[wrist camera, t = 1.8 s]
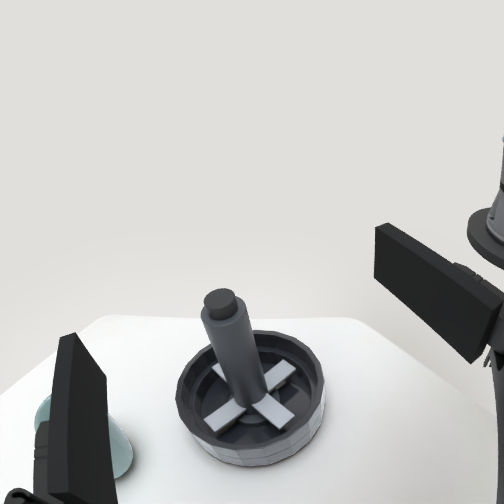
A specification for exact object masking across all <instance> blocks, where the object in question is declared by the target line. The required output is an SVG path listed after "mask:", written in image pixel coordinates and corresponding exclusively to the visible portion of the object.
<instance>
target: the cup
mask: <svg viewBox="0 0 504 504" xmlns="http://www.w3.org/2000/svg"><path fill="white" fill-rule="evenodd" d="M50 404H51V395H50V396H49V397H47V398H46V399H45V400H44V401H43V403H42V404H41V405H40V407H39V409H38V410H37V413H36V416H35V431H36V432H37V429H38V427H39V425H40V422H42V421H47V420H49V415H50ZM108 422H109V436H110V447H111V456H112V465H113V473H114V479H116V478H118V477H120V476H122V475H123V474H124V473H125V472H126V471H127V470H128V469H129V467H130V466H131V463H132V460H133V451H132V447H131V444H130V441H129V440H128V438H127V436H126V434H125V433H124V431H123V430H122V429H121V427H120V426H119V425H118V424H117V423H116V421H115V420H114V419H113V418H112V417H111V416H110V414H109V413H108Z"/></svg>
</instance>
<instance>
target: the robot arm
mask: <svg viewBox="0 0 504 504" xmlns="http://www.w3.org/2000/svg"><path fill="white" fill-rule="evenodd" d="M503 142H504V137H503ZM486 230H487V232H488V234H489V235H490V236H491V237H492V238H493V239H494V240H495V241H496V242H497V243H499V244H500V245H502V246H504V148H503V161H502V171H501V180H500V189H499V192H498V194H497V196H496V198H495V200H494V202H493V205H492V207H491V209H490V211H489V213H488V215H487V220H486ZM374 278H375V279H376V280H377V281H378V282H379V283H381V284H382V285H383V286H384V287H385V288H387V289H388V290H389V291H390V292H391V293H392V294H394V295H395V296H396V297H397V298H398V299H399V300H400V301H402V302H403V303H404V304H405V305H406V306H407V307H409V308H410V309H411V310H412V311H413V312H414V313H415V314H416V315H417V316H419V317H420V318H421V319H422V320H423V321H424V322H425V323H426V324H428V325H429V326H430V327H431V328H432V329H433V330H434V331H435V332H436V333H437V334H439V335H440V336H441V337H442V338H443V339H444V340H445V341H446V342H447V343H448V344H449V345H450V346H452V347H453V348H454V349H455V350H456V351H457V352H458V353H459V354H460V355H461V356H462V357H463V358H464V359H465V360H466V361H468V363H470V364H472V363H473V362H474V361H475V360H476V359H477V358H479V356H481V355H482V354H483V351H484V349H485V347H486V345H487V344H488V345H489V346H491V349H490V351H489V353H488V355H487V357H486V359H485V361H484V367H486V366H487V364H488V362H489V360H491V363H490V365H489V367H492V374H493V382H494V390H495V399H496V410H497V425H498V488H497V502H496V504H504V293H503V292H502V291H501V290H499V289H498V288H497V287H495V286H494V285H492V284H491V283H489V282H488V281H487V280H484V279H483V278H482V277H481V276H480V275H478V274H477V275H476V273H475V272H474V271H472V270H471V269H469V268H468V267H466V266H464V265H461V264H458V263H453V264H452V263H451V262H450V261H448V260H447V259H445V258H444V257H442V256H440V255H439V254H437V253H436V252H434V251H433V250H431V249H430V248H428V247H427V246H425V245H423V244H422V243H420V242H419V241H417V240H416V239H414V238H413V237H411V236H409V235H408V234H406V233H405V232H403V231H401V230H399V229H398V228H396V227H394V226H393V225H391V224H390V223H385V224H383V225H380V226H377V227H375V261H374ZM34 458H35V460H34V475H33V494H32V493H30V492H29V491H27V490H25V489H22V488H15V489H13V490H11V491H10V492H9V493H8V494H7V496H6V498H5V502H4V504H118V500H117V494H116V488H115V481H114V473H113V465H112V456H111V447H110V436H109V422H108V406H107V377H106V375H105V374H104V373H103V371H102V370H101V369H100V367H99V366H98V365H97V363H96V362H95V360H94V359H93V358H92V356H91V355H90V353H89V352H88V350H87V349H86V347H85V346H84V344H83V343H82V341H81V340H80V338H79V337H78V335H77V334H76V333H72V334H69V335H66V336H62V337H60V340H59V345H58V351H57V357H56V364H55V371H54V378H53V386H52V394H51V404H50V415H49V420H47V421H42V422H40V425H39V427H38V429H37V432H36V434H35V450H34Z"/></svg>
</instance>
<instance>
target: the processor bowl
mask: <svg viewBox="0 0 504 504" xmlns="http://www.w3.org/2000/svg"><path fill="white" fill-rule="evenodd" d="M253 335H254V339H255V343H256V347H257V350H258V354H259V358H260V362H261V365H262V369H263V373H264V374H266V373H267V372H268V371H270V370H271V369H272V368H273V367H275V366H276V365H277V364H278V363H280V362H281V361H282V360H285V361H286V362H288V363H289V364H290V365H292V366H293V367H295V368H296V371H295V372H294V373H293V374H291V375H290V376H289V377H288V378H287V379H285V380H284V381H283V382H282V383H281V384H279V385H278V386H277V387H276V390H277V391H278V393H279V396H280V401H281V405H282V406H284V407H285V408H286V409H287V410H289V411H290V412H291V413H292V414H294V415H295V418H294V419H292V420H291V421H290V422H289V423H288V424H287V425H285V426H284V427H283V428H282V429H281V430H279V429H278V428H276V427H275V426H274V425H273V424H272V423H271V422H269V423H268V424H266V425H263V426H260V427H246V426H243V425H241V424H239V423H237V422H236V421H235V420H233V421H232V422H231V423H229V424H228V425H226V426H225V427H224V428H222V429H221V430H220V431H218V432H217V433H215V432H214V431H213V430H212V429H211V428H210V427H209V425H208V424H207V423H206V422H205V421H204V419H205V418H206V417H208V416H209V415H211V414H212V413H213V412H215V411H216V410H218V409H219V408H220V407H222V406H223V405H225V404H226V403H227V402H228V400H229V397H230V395H231V390H230V388H229V386H228V384H227V383H226V382H225V381H224V380H223V379H222V378H221V377H220V376H219V375H218V374H217V373H216V372H215V371H214V370H213V369H212V367H213V366H215V365H216V364H217V363H219V362H218V359H217V357H216V355H215V352H214V350H213V347H212V345H211V344H209V345H208V346H206V347H205V348H203V349H202V350H200V351H199V352H198V353H197V354H196V355H195V356H194V357H193V358H192V359H191V360H190V361H189V363H188V364H187V365H186V366H185V368H184V370H183V372H182V374H181V376H180V378H179V380H178V384H177V390H176V397H175V400H176V404H177V408H178V412H179V416H180V418H181V420H182V421H183V422H184V424H185V425H186V426H187V428H188V429H189V430H190V432H191V433H192V434H193V436H194V437H195V438H196V440H197V441H198V442H199V443H200V445H201V446H202V447H203V448H204V450H205V451H206V452H208V453H210V454H211V455H213V456H215V457H216V458H218V459H220V460H221V461H224V462H227V463H231V464H236V465H240V466H246V467H247V466H259V465H269V464H272V463H275V462H277V461H280V460H282V459H285V458H287V457H289V456H292V455H294V454H295V453H296V452H297V451H298V450H300V449H301V448H302V447H303V446H304V445H306V444H307V443H308V442H309V441H310V440H311V439H312V437H313V435H314V434H315V432H316V431H317V429H318V427H319V426H320V424H321V422H322V416H323V411H324V406H325V387H324V377H323V373H322V368H321V364H320V362H319V361H318V359H317V358H316V356H315V355H314V353H313V352H312V351H311V349H310V348H309V347H308V346H306V345H305V344H303V343H302V342H300V341H299V340H297V339H296V338H294V337H292V336H288V335H285V334H282V333H279V332H276V331H263V330H253Z"/></svg>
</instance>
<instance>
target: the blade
mask: <svg viewBox="0 0 504 504" xmlns="http://www.w3.org/2000/svg"><path fill="white" fill-rule="evenodd" d="M204 305H205V306H204V307H203V309H202V311H201V319H202V322H203V324H204V327H205V329H206V332H207V335H208V337H209V340H210V342H211V345H212V347H213V350H214V352H215V355H216V357H217V359H218V362H219V363H217V364H216V365H215V366H213V367H212V369H213V370H214V371H215V372H216V373H217V374H218V375H219V376H220V377H221V378H222V379H223V380H224V381H225V382H226V383H227V384H228V386H229V388H230V390H231V395H230V397H229V400H228V402H227V403H226V404H225V405H223V406H222V407H220V408H219V409H218V410H216V411H215V412H213V413H212V414H211V415H209V416H208V417H206V418H205V419H204V421H205V422H206V423H207V424H208V425H209V427H210V428H211V429H212V430H213V431H214V432H215V433H217V432H218V431H220V430H221V429H222V428H224V427H225V426H226V425H228V424H229V423H231V422H232V421H233V420H235V421H236V422H237V423H239V424H241V425H243V426H246V427H260V426H263V425H266V424H268V423H269V422H271V423H272V424H273V425H274V426H275V427H276V428H278V429H279V430H281V429H282V428H283V427H284V426H285V425H287V424H288V423H289V422H290V421H291V420H292V419H294V418H295V415H294V414H292V413H291V412H290V411H289V410H287V409H286V408H285V407H284V406H282V405H281V401H280V396H279V393H278V391H277V390H276V387H277V386H278V385H279V384H281V383H282V382H283V381H284V380H285V379H287V378H288V377H289V376H290V375H291V374H293V373H294V372H295V371H296V368H295V367H293V366H292V365H290V364H289V363H288V362H286V361H285V360H282V361H281V362H280V363H278V364H277V365H276V366H275V367H273V368H272V369H271V370H270V371H268V372H267V373H266V374H264V373H263V369H262V365H261V362H260V358H259V354H258V350H257V347H256V343H255V339H254V335H253V331H252V328H251V324H250V320H249V316H248V313H247V308H246V305H245V303H244V301H243V300H242V299H241V298H239V297H236V296H235V294H234V292H233V291H232V290H230V289H226V288H224V289H223V288H222V289H217V290H214V291H212V292H210V293H209V294H208V295H206V297H205V299H204Z"/></svg>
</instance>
